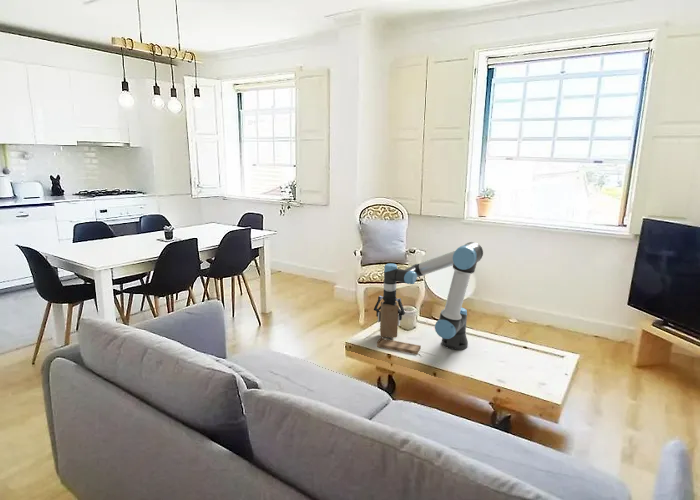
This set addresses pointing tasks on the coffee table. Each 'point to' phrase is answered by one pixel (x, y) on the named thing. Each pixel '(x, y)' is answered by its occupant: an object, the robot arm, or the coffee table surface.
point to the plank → (398, 346)
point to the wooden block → (388, 320)
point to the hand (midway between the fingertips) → (388, 323)
